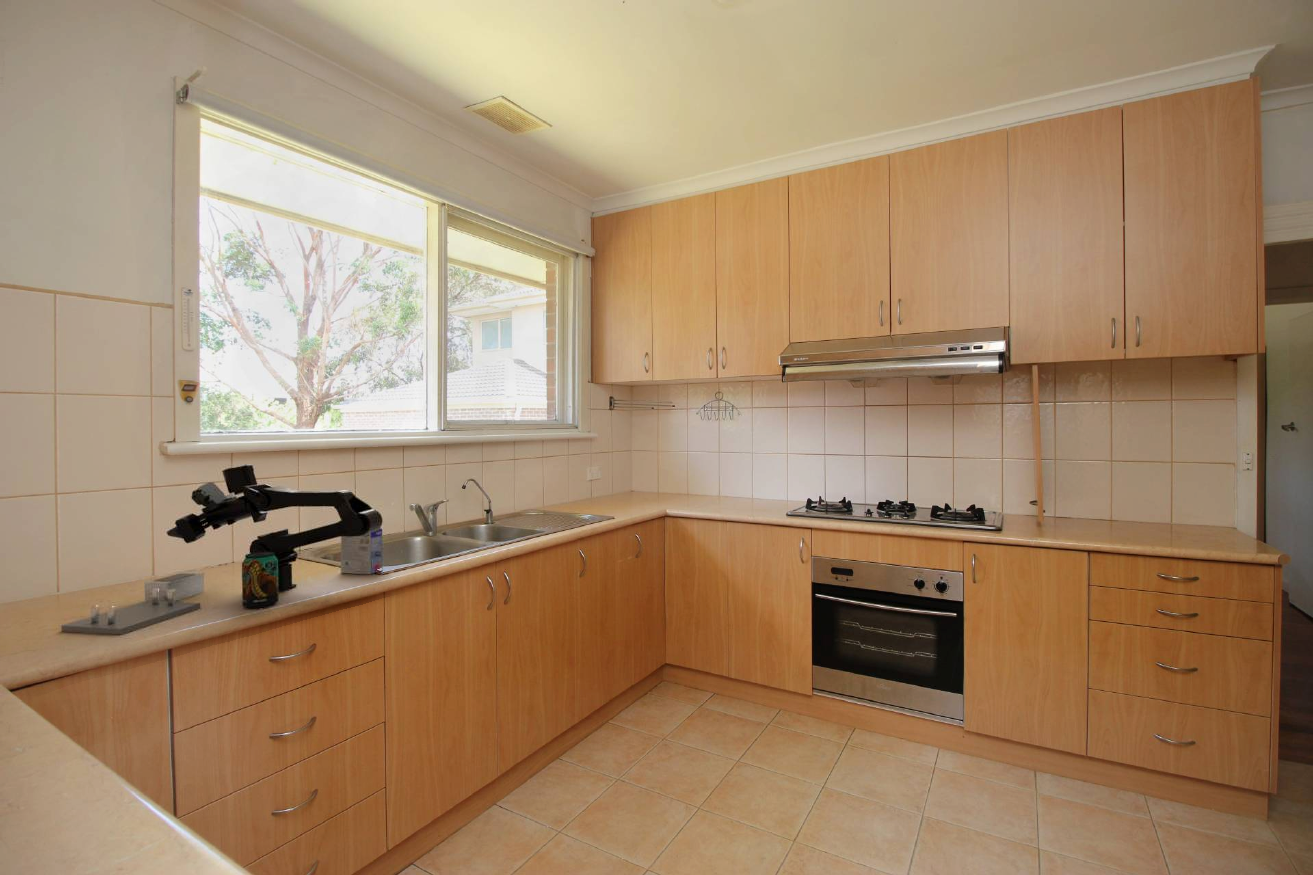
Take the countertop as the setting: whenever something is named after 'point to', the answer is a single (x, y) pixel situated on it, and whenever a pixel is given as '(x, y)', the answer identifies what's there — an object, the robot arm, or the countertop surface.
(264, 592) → the beverage can
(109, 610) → the pin tray
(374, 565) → the ink cartridge box
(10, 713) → the countertop surface
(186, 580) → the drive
